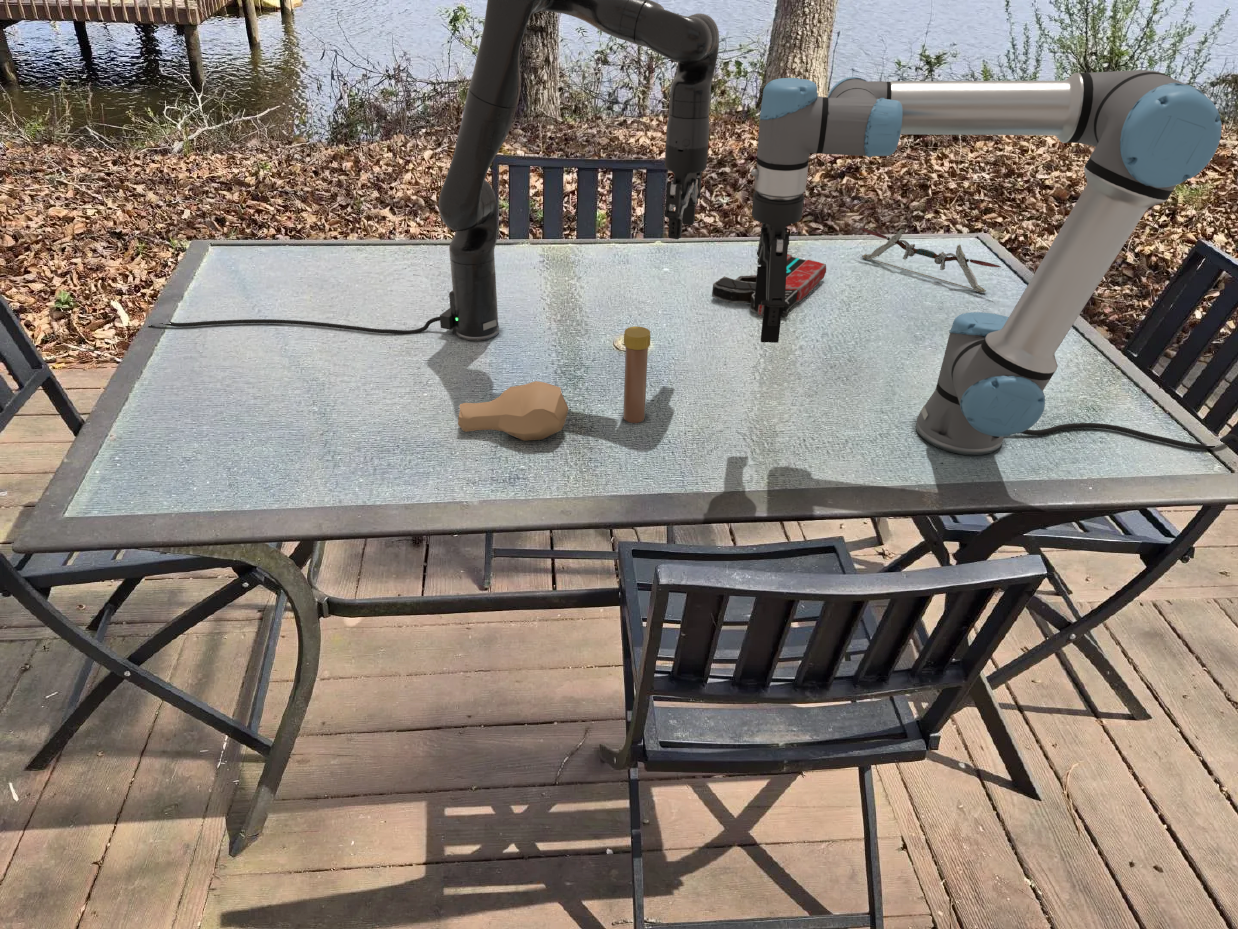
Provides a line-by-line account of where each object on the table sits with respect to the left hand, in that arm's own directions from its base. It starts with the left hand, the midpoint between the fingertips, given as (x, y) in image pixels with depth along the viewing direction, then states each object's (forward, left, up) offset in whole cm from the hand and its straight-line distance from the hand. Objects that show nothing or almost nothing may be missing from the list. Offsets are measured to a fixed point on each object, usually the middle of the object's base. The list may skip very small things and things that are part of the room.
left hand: (681, 231), depth 164 cm
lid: (-1, -21, -12) cm, 24 cm away
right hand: (+22, -23, -5) cm, 32 cm away
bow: (+43, +77, -29) cm, 93 cm away
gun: (+9, +50, -29) cm, 59 cm away
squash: (-19, -34, -29) cm, 49 cm away
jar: (-1, -21, -29) cm, 36 cm away
